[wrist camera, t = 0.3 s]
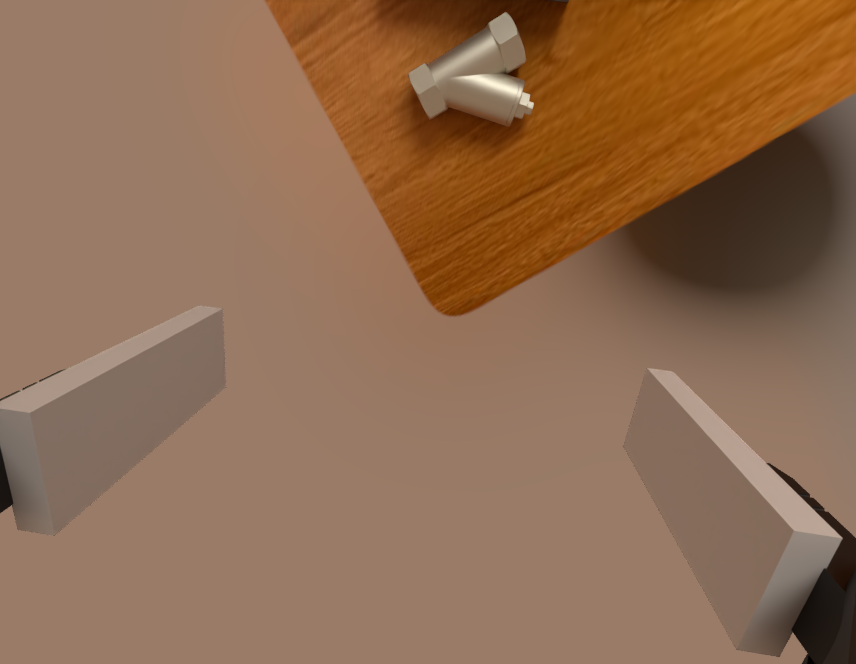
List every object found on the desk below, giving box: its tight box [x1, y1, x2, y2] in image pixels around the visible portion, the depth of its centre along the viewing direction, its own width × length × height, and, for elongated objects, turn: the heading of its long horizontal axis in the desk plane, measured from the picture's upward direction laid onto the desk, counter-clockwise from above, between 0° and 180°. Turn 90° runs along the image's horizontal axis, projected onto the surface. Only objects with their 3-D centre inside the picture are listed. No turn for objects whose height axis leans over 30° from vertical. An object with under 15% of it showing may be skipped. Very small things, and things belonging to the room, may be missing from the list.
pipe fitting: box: [408, 12, 534, 127], centre depth 34 cm, size 8×4×7 cm
